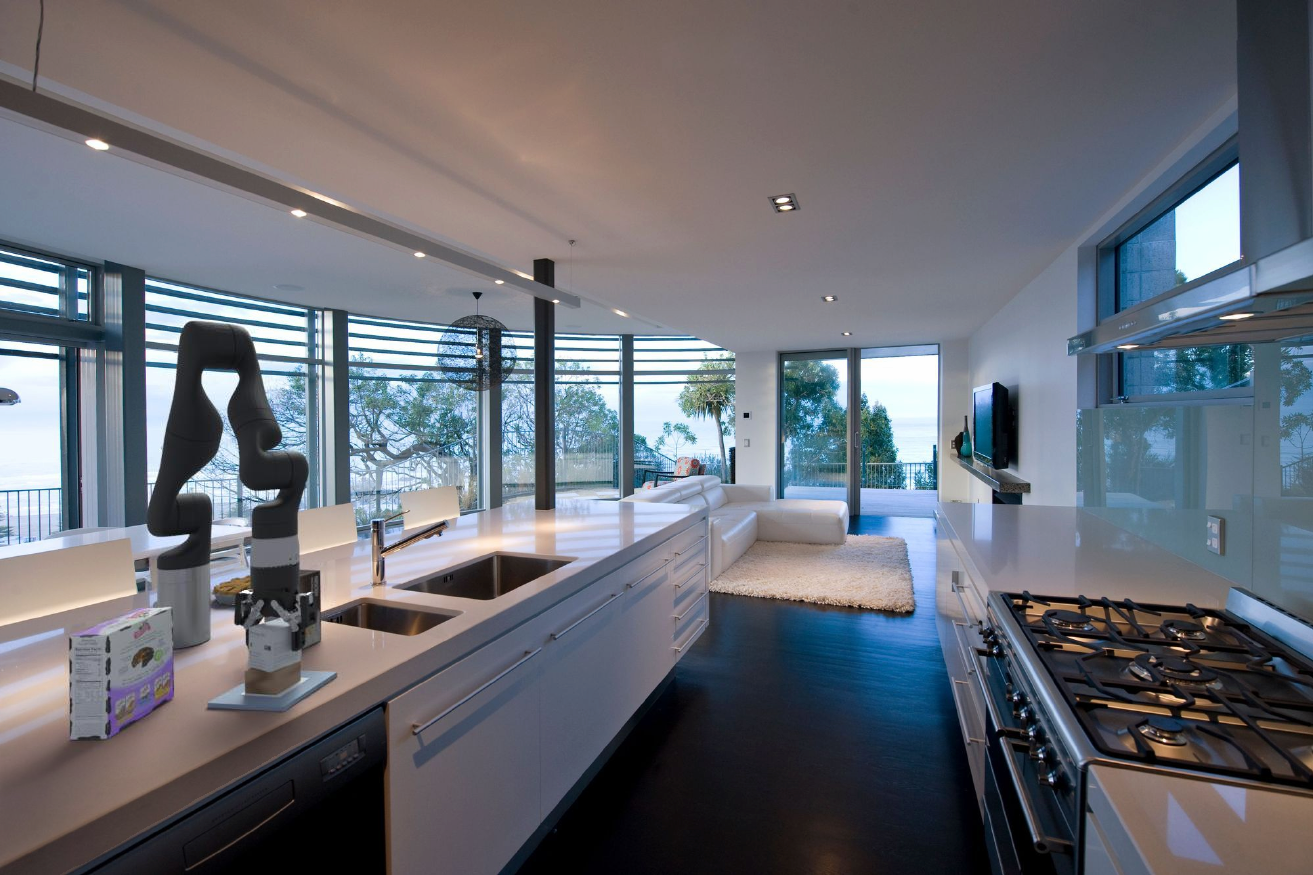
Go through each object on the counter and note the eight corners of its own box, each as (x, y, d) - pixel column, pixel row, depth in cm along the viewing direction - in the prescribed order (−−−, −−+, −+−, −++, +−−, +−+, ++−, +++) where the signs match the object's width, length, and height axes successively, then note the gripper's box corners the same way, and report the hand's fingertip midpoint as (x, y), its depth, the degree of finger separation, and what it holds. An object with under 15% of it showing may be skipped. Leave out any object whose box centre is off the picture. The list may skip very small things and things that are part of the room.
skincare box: (247, 667, 103) (247, 627, 103) (280, 655, 109) (280, 616, 109) (270, 673, 101) (270, 631, 101) (303, 660, 107) (302, 620, 107)
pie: (272, 608, 153) (272, 589, 153) (191, 607, 154) (191, 589, 154) (321, 586, 175) (321, 569, 175) (250, 585, 176) (250, 569, 175)
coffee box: (298, 638, 131) (297, 568, 131) (322, 640, 130) (322, 569, 130) (263, 653, 122) (262, 578, 122) (288, 656, 121) (288, 580, 121)
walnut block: (244, 693, 102) (244, 671, 102) (270, 678, 108) (270, 657, 108) (276, 695, 101) (276, 672, 101) (300, 680, 107) (300, 659, 107)
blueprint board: (207, 707, 99) (207, 702, 99) (269, 672, 113) (269, 668, 113) (283, 711, 98) (283, 706, 98) (336, 676, 111) (336, 671, 111)
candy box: (140, 698, 102) (139, 606, 102) (175, 697, 102) (175, 605, 102) (67, 741, 88) (66, 634, 88) (108, 739, 89) (107, 633, 88)
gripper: (221, 564, 102) (222, 655, 102) (297, 566, 100) (297, 658, 101) (255, 554, 109) (255, 639, 109) (325, 556, 108) (326, 642, 108)
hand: (275, 648), depth 105 cm, fingers open, 8 cm apart
